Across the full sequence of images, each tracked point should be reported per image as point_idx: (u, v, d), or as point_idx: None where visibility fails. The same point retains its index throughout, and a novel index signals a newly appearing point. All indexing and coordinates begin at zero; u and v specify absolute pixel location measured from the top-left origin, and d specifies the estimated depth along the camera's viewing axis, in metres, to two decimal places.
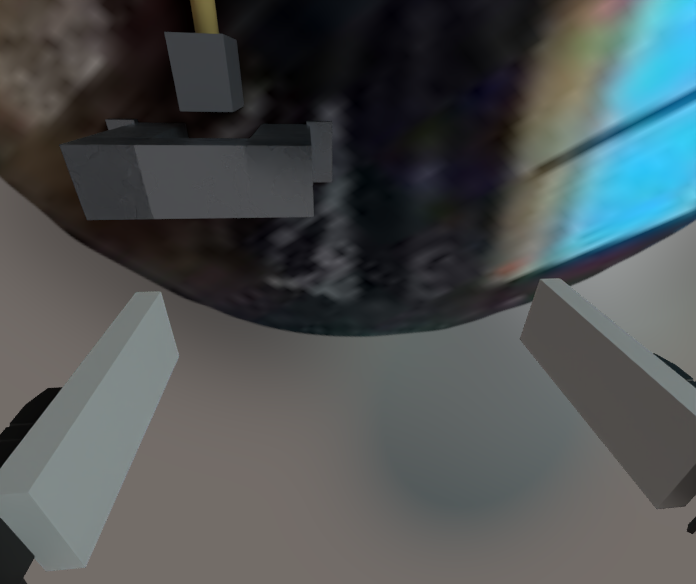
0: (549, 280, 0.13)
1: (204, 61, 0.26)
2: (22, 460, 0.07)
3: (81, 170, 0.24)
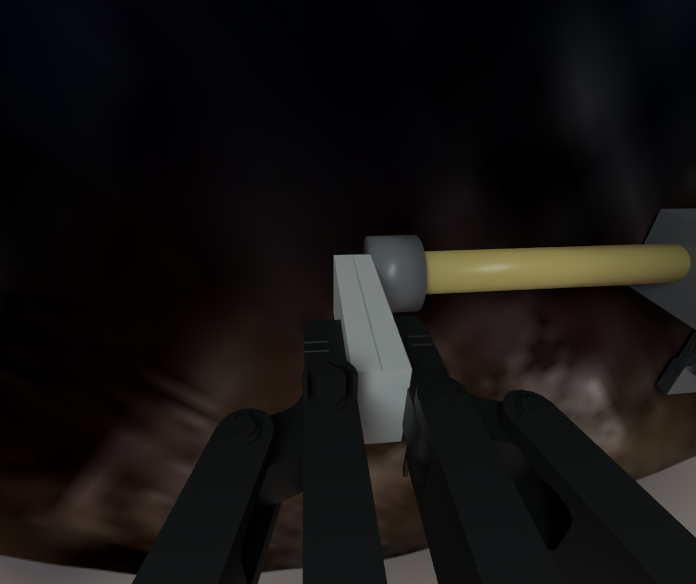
0: (359, 255, 0.14)
1: None
2: (360, 354, 0.09)
3: None
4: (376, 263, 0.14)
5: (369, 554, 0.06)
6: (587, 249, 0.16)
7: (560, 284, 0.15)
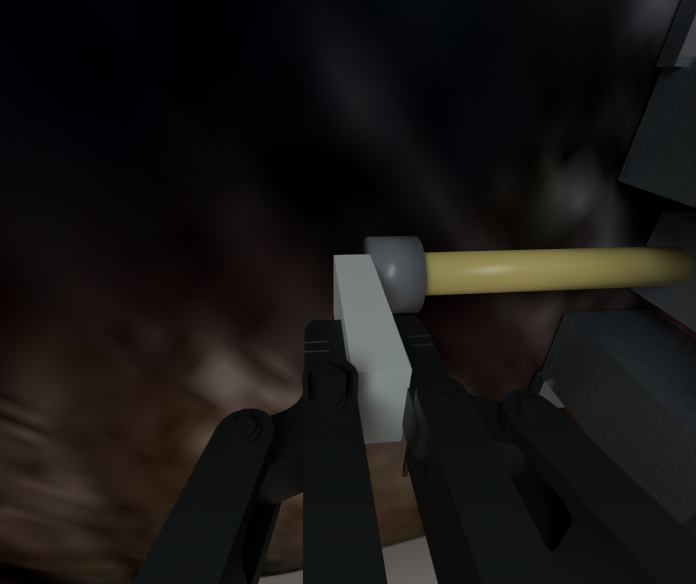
0: (359, 255, 0.14)
1: None
2: (360, 354, 0.09)
3: None
4: (375, 264, 0.13)
5: (369, 554, 0.06)
6: (588, 251, 0.15)
7: (560, 286, 0.15)
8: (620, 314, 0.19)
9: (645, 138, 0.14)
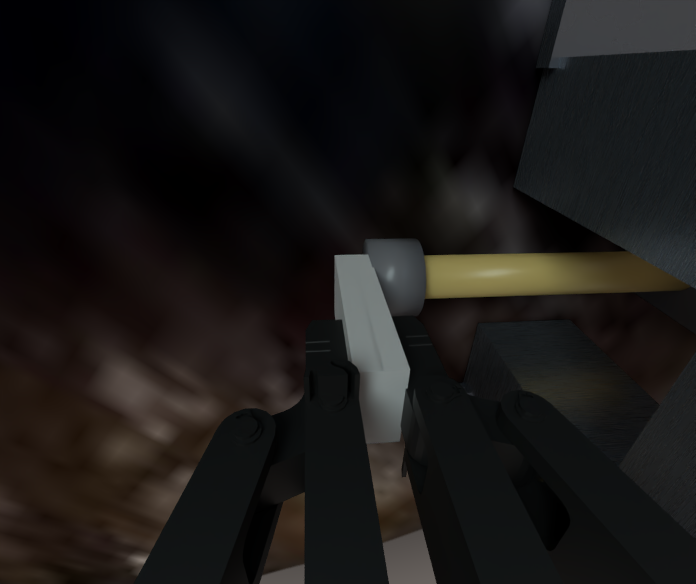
0: (357, 255, 0.14)
1: None
2: (362, 354, 0.09)
3: None
4: (374, 267, 0.13)
5: (370, 554, 0.06)
6: (592, 255, 0.15)
7: (563, 290, 0.15)
8: (536, 325, 0.19)
9: (532, 143, 0.14)
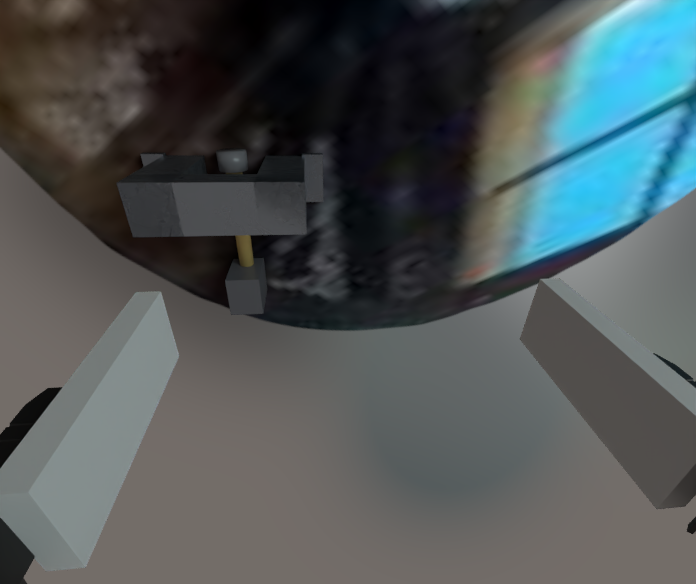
0: (549, 280, 0.13)
1: (247, 291, 0.45)
2: (22, 460, 0.07)
3: (131, 201, 0.32)
4: (239, 153, 0.39)
5: None
6: None
7: None
8: None
9: (281, 156, 0.42)
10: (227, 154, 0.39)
